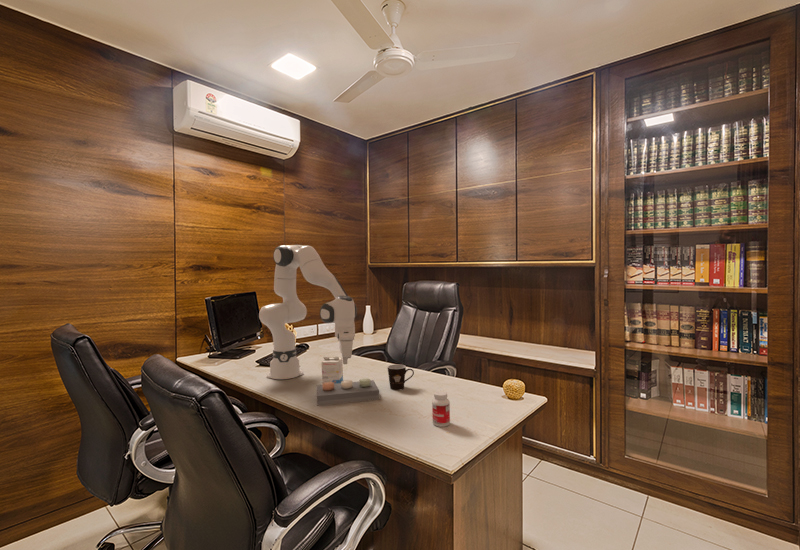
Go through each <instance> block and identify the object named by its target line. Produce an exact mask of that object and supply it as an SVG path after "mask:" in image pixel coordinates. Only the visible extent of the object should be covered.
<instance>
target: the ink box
mask: <svg viewBox="0 0 800 550" xmlns="http://www.w3.org/2000/svg"><path fill="white" fill-rule="evenodd" d="M343 365H344V364H343V357H338V356H324V357H323V360H322V361H321V377H322V378H321V380H322V384H323V383H325V382H334V384H337V383H341V382H342V381H344V375H343V374H344V372H343V371H344V367H343ZM322 384H321V385H322Z"/></svg>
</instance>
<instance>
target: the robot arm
mask: <svg viewBox="0 0 800 550" xmlns="http://www.w3.org/2000/svg"><path fill="white" fill-rule="evenodd" d="M272 257H273V261H274V263H275V269H274V277H273V278H274V281H273V291H274V293H275V295H277V296H279V297H280V298H282V302H281V303H280V302H279V303H270V304H267V305H264V306H261V308H260V310H259V313H258V318H259V320H260V321H259V322H260V323H262V324H263V325H264V326H266V327H267V328H268V329H269V331H270V333H271V334H272V335H271V336H272V342H273V350H272V357H273V358H272V360H270V362H269V364H270V365H269V373H268V374H266V378H268V379H273V380H288V379H294V378H296V377H299V376H303V375H304V371H303V369H301V365H300V359H299V358H298V357H297V347H296V335H295V333H294V332H293V331H291V330H289V329H287V327H286V324H291V323H297V322H300V321H303V320H304V319H305V318H306V316H307V315H308V310H307V307H306V305H305V304H304V303H303V302H302V301H301V300H300V299H299V296H298V294H297V269H298V268H299V269H300V272H301V274H302V276H303V278H304V280H305V281H306V282H308V283H310V284H312V285H314V286H319V287H323V288H324V289H327V290H328V291H330V293H331V295H332V296H333V297H334V299H333V300H331V301H328V302H325V303H323V304H322V305H321V306H320V309H319V317H320V320H321V321H322V322H323V323H325V324H334V337H335V338H336V339H337V341H338V342H339V343H338V344H339V349H340V350H339V351H340V353H341V358H342V365H347V364H348V359H351V358H352V354H353V343H354V340H355V337H356V326H355V318H356V317H357V313H358V307H357V305H356V303H355V302H354V299H353V297H351V296H349V295H348V293H347V292H346V290H345V289H344V287H343V285H342V284H341V283H340V281H339V280H338V278H337V276H335V275H334V274H333V273H332V272H331V271H330V270H329V269H328V268H327V267H326V266H325V264H324V262H323V260H322V258H321V257H320V254H319V253H318V252H317V250H316V249H315V248H314V247H313V246H311V245H302V244H290V245H285V244H283V245H278V246H277V247H275V248H274V251H273V256H272Z"/></svg>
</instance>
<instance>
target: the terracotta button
mask: <svg viewBox="0 0 800 550" xmlns="http://www.w3.org/2000/svg"><path fill="white" fill-rule="evenodd" d="M321 385H323V390H326V391H328V390H333V389H334V382H325V383H323V384H321Z"/></svg>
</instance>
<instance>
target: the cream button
mask: <svg viewBox="0 0 800 550" xmlns="http://www.w3.org/2000/svg"><path fill="white" fill-rule="evenodd" d="M353 382H354V381H353V380H350V379H346V380H345V379H344V380H343V381H342V382H341V388H343V389H350V388H352V387H353Z"/></svg>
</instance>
